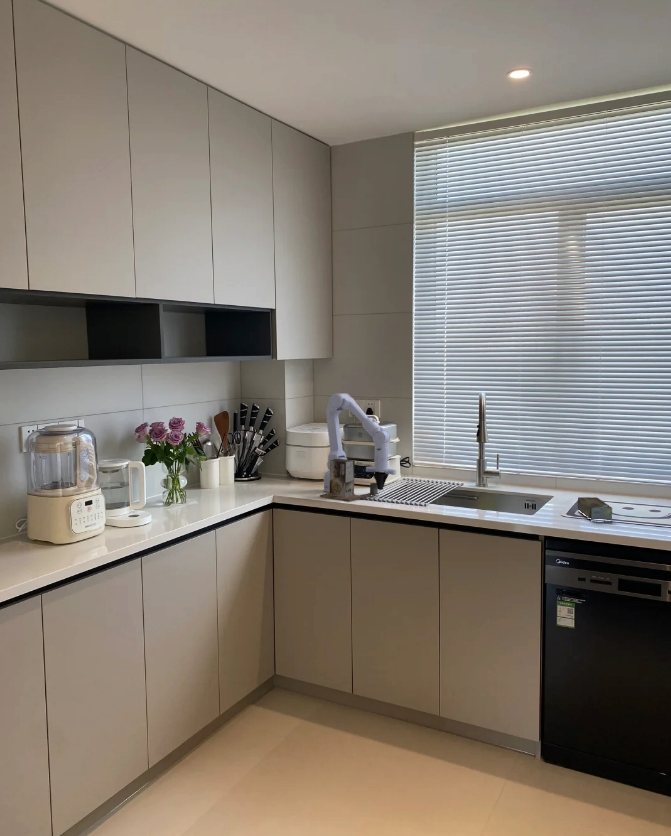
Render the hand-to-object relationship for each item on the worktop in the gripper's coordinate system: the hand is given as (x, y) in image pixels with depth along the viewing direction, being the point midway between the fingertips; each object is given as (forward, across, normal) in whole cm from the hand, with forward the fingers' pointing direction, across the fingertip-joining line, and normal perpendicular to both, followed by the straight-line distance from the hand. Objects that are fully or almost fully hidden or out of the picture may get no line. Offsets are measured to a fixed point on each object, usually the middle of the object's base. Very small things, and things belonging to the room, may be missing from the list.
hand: (380, 489), depth 304 cm
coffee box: (+3, +11, +13) cm, 18 cm away
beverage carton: (+3, -85, -20) cm, 88 cm away
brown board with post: (+3, +10, +9) cm, 14 cm away
